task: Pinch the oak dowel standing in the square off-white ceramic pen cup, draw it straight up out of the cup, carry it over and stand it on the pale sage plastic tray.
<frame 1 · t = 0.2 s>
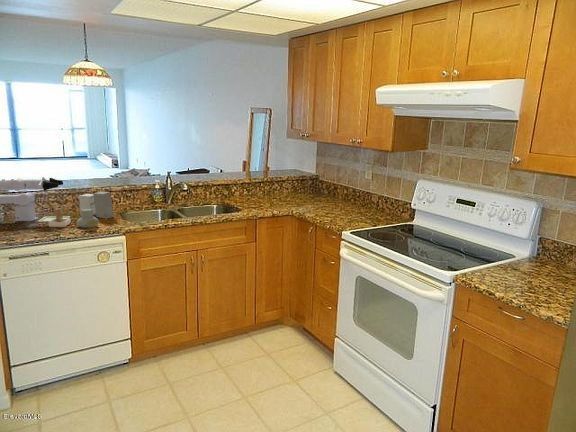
hand: (60, 183, 247), 22 cm above the counter, tool horizontal, fingers open, 7 cm apart
tray: (54, 220, 250), on the counter
air freshener: (88, 227, 238), on the counter
supplement box: (89, 215, 267), on the counter
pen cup: (60, 225, 239), on the counter
dowel: (60, 224, 239), resting on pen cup
skincare box: (104, 217, 261), on the counter
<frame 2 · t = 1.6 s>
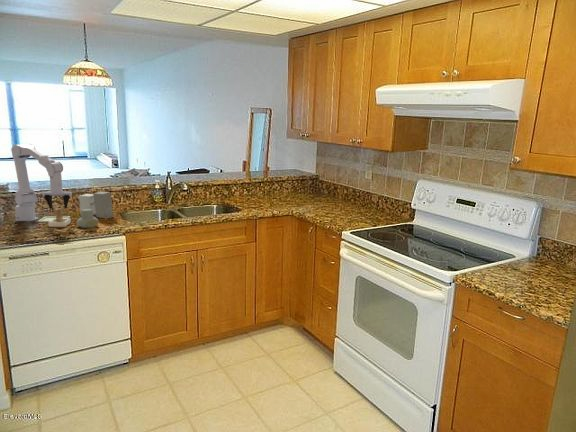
hand: (58, 208, 237), 10 cm above the counter, tool pointing down, fingers open, 7 cm apart
nothing on the counter moved.
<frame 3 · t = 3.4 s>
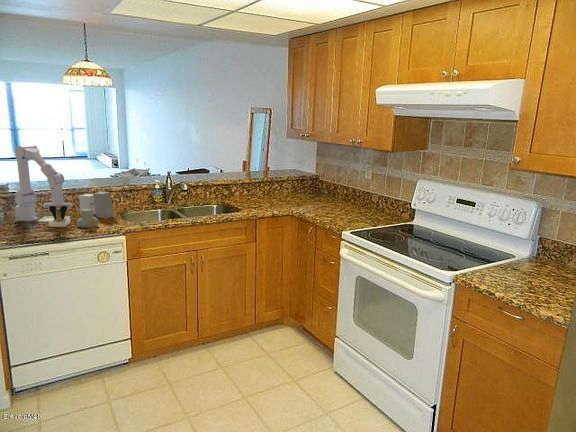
hand: (59, 219, 239), 4 cm above the counter, tool pointing down, fingers closed on dowel, 3 cm apart
dowel: (60, 224, 239), resting on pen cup, touching gripper
everything else where it was.
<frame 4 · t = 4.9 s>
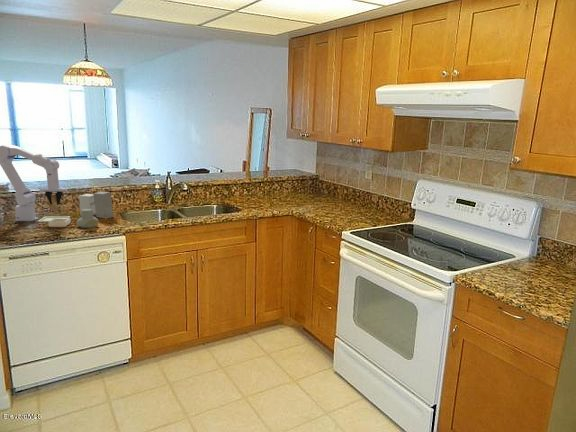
hand: (55, 204, 247), 10 cm above the counter, tool pointing down, fingers closed on dowel, 3 cm apart
dowel: (55, 209, 248), point 7 cm above the counter, touching gripper
everything else where it was.
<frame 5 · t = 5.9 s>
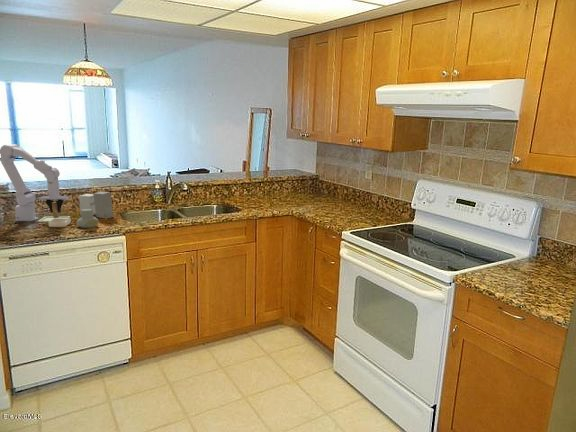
hand: (55, 212, 249), 5 cm above the counter, tool pointing down, fingers closed on dowel, 3 cm apart
dowel: (56, 217, 249), point 2 cm above the counter, touching gripper
everything else where it was.
when the fingers open (4 cm above the counter, at t = 6.8 s): dowel stays where it is, resting on tray.
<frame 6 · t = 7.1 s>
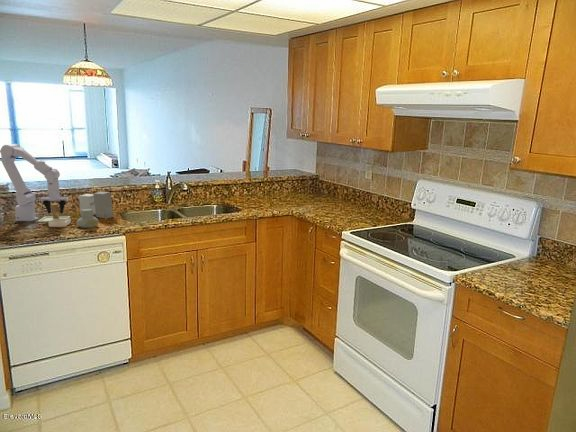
hand: (55, 213, 249), 4 cm above the counter, tool pointing down, fingers open, 6 cm apart
dowel: (56, 219, 250), point 1 cm above the counter, touching tray
everything else where it was.
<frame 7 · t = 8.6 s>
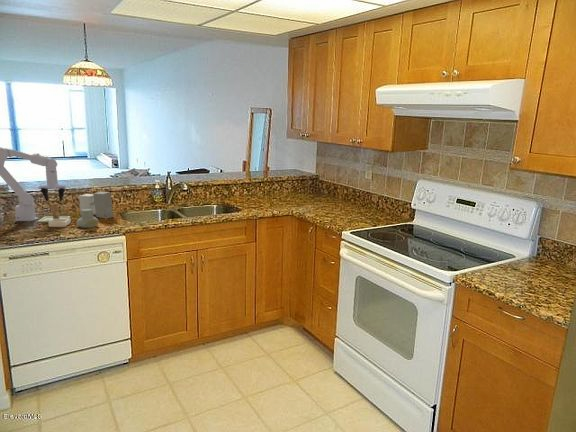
hand: (54, 200, 256), 10 cm above the counter, tool pointing down, fingers open, 7 cm apart
nothing on the counter moved.
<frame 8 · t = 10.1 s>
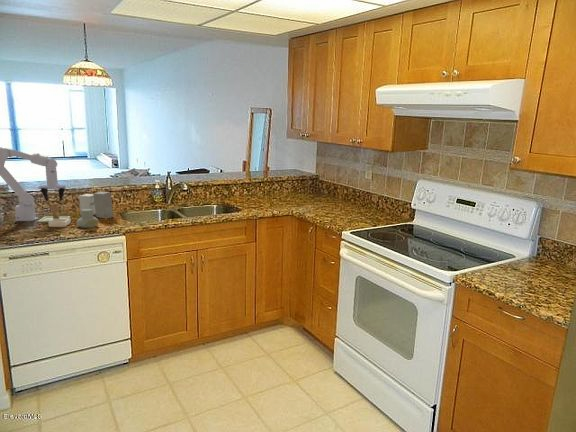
hand: (53, 200, 257), 10 cm above the counter, tool pointing down, fingers open, 7 cm apart
nothing on the counter moved.
at the end: dowel inside the target area on the tray (1.0 cm from its centre), point 0.6 cm above the tray's base; dowel tilted 1°; the gripper is holding nothing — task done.
